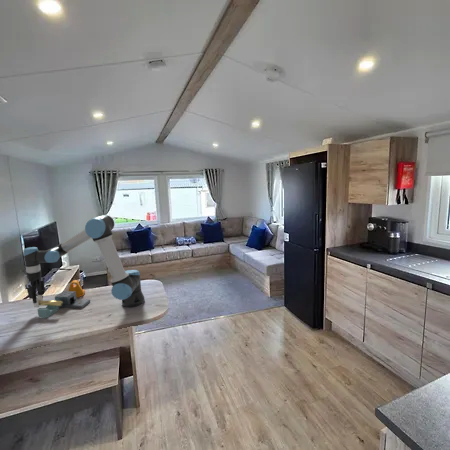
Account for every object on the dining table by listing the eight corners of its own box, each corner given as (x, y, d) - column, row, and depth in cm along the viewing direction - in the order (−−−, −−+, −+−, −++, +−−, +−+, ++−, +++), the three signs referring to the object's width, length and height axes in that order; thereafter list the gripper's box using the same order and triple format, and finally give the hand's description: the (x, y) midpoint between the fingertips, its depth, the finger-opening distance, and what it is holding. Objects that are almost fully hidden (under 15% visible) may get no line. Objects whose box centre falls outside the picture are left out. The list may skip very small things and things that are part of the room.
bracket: (85, 292, 207) (83, 277, 205) (83, 296, 201) (81, 281, 198) (69, 294, 204) (67, 279, 202) (67, 298, 197) (65, 283, 195)
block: (90, 302, 191) (88, 291, 189) (82, 308, 182) (80, 297, 181) (65, 301, 193) (63, 291, 191) (56, 307, 184) (54, 296, 182)
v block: (58, 309, 181) (57, 302, 180) (47, 317, 171) (46, 309, 170) (50, 309, 181) (49, 302, 180) (38, 317, 171) (37, 309, 170)
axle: (63, 304, 175) (62, 300, 175) (59, 306, 172) (59, 302, 172) (37, 303, 177) (36, 299, 177) (34, 306, 174) (33, 302, 174)
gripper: (38, 267, 179) (42, 299, 184) (17, 275, 164) (23, 311, 168) (48, 267, 179) (53, 300, 183) (29, 276, 163) (34, 312, 167)
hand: (38, 305), depth 176 cm, fingers closed on axle, 3 cm apart
